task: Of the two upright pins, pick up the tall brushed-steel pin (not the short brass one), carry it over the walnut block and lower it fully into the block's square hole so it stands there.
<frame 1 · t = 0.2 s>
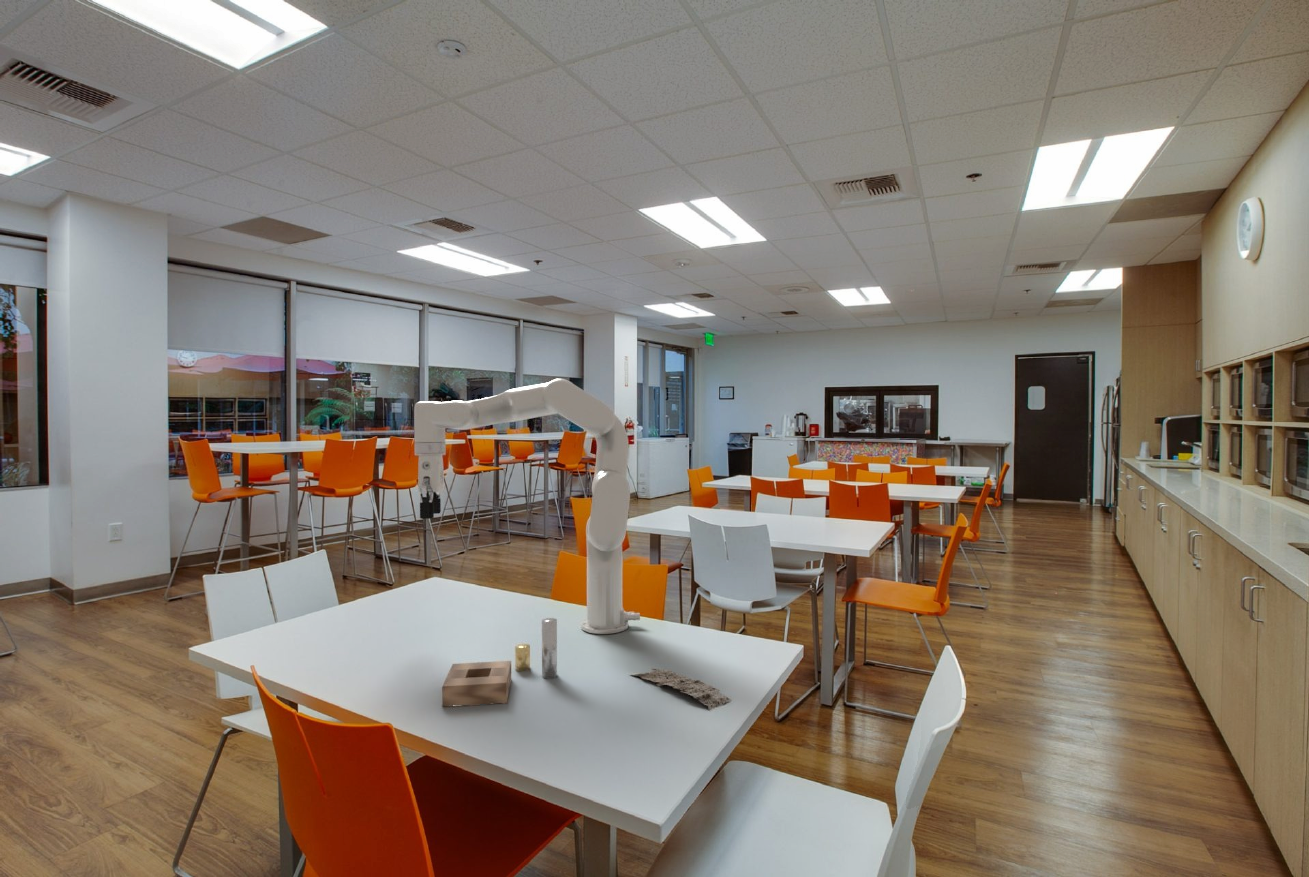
hand: (430, 515, 165), 31 cm above the table, tool pointing down, fingers open, 9 cm apart
short pin: (522, 668, 142), on the table
long pin: (549, 675, 138), on the table
stone fragment: (676, 690, 132), on the table
socket block: (478, 692, 129), on the table
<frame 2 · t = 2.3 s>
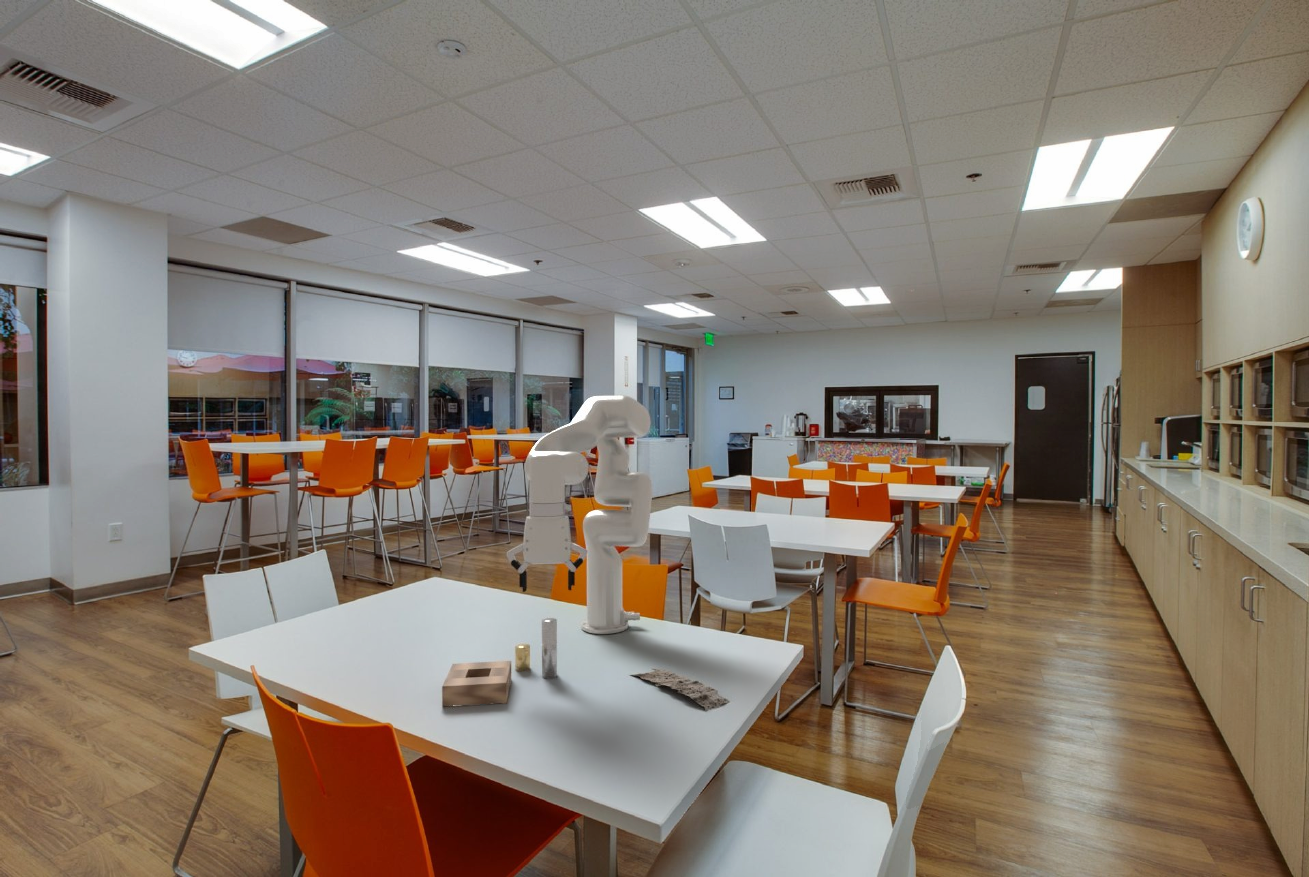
hand: (547, 589, 138), 19 cm above the table, tool pointing down, fingers open, 9 cm apart
nothing on the table moved.
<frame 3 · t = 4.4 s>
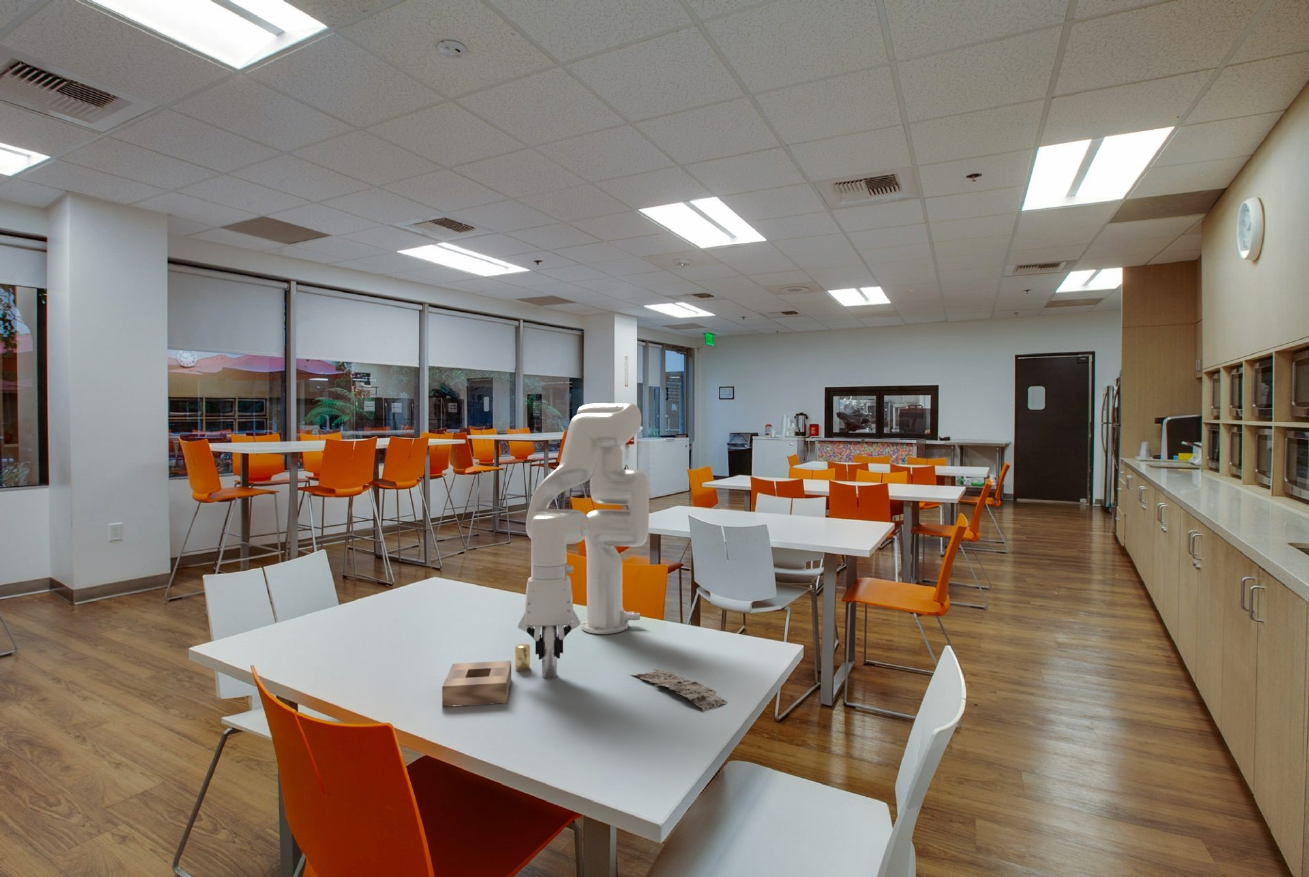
hand: (549, 655, 138), 4 cm above the table, tool pointing down, fingers closed on long pin, 3 cm apart
long pin: (549, 675, 138), on the table, touching gripper
everything else where it was.
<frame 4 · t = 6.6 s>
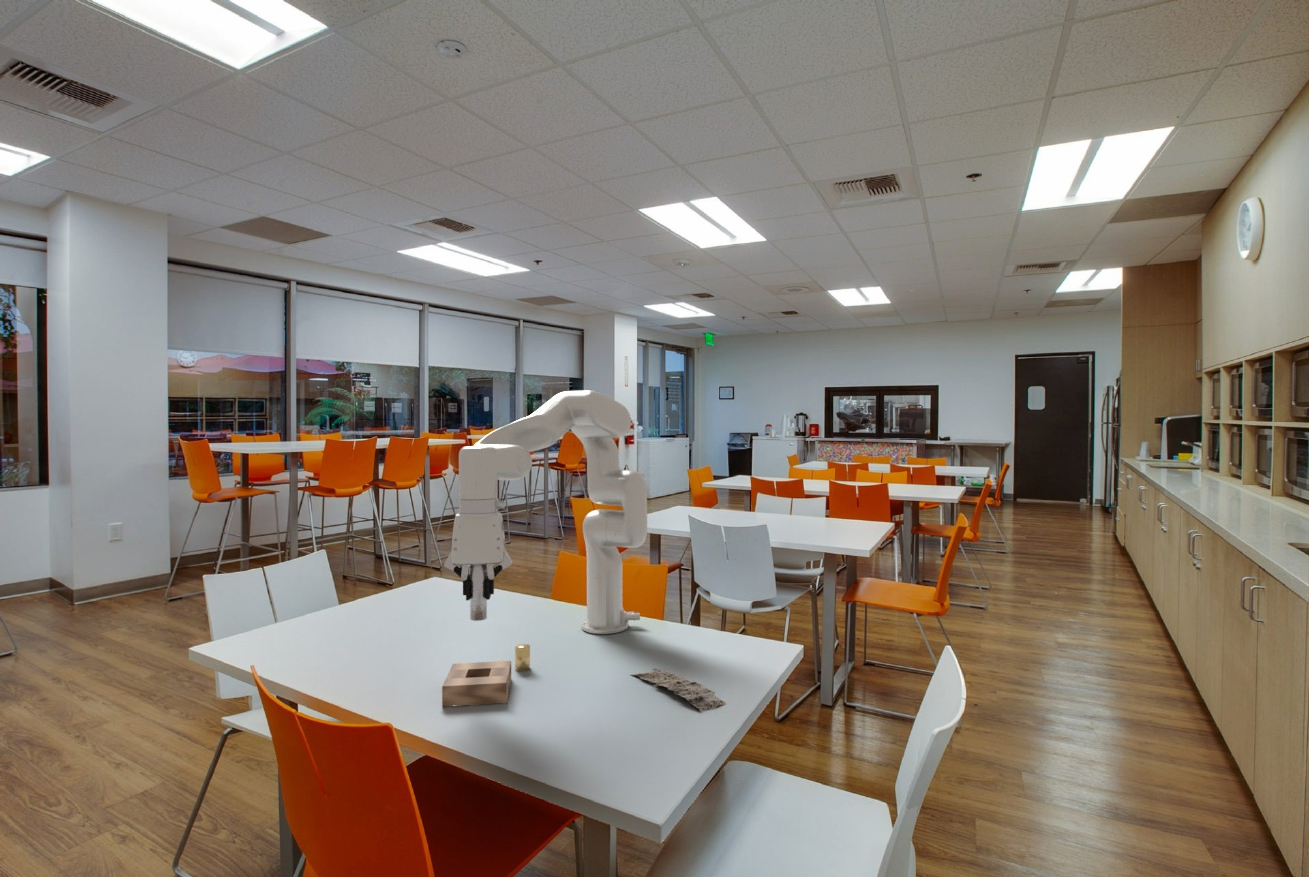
hand: (478, 597, 129), 19 cm above the table, tool pointing down, fingers closed on long pin, 3 cm apart
long pin: (478, 618, 129), point 15 cm above the table, touching gripper
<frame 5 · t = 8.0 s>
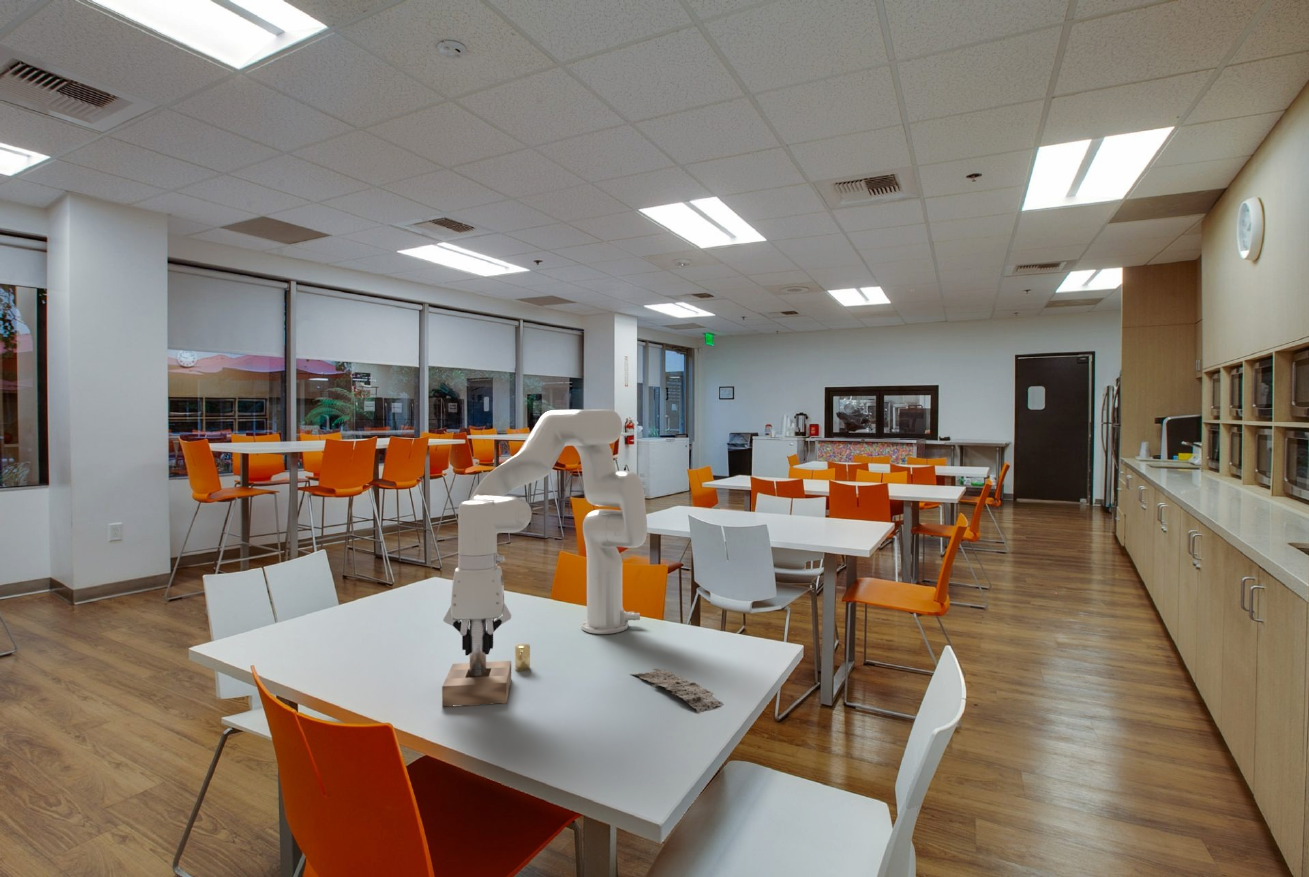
hand: (477, 651, 129), 8 cm above the table, tool pointing down, fingers closed on long pin, 3 cm apart
long pin: (477, 672, 129), point 4 cm above the table, touching gripper
when the fingers open (5 cm above the table, at t = 8.9 s): long pin stays where it is, resting in socket block.
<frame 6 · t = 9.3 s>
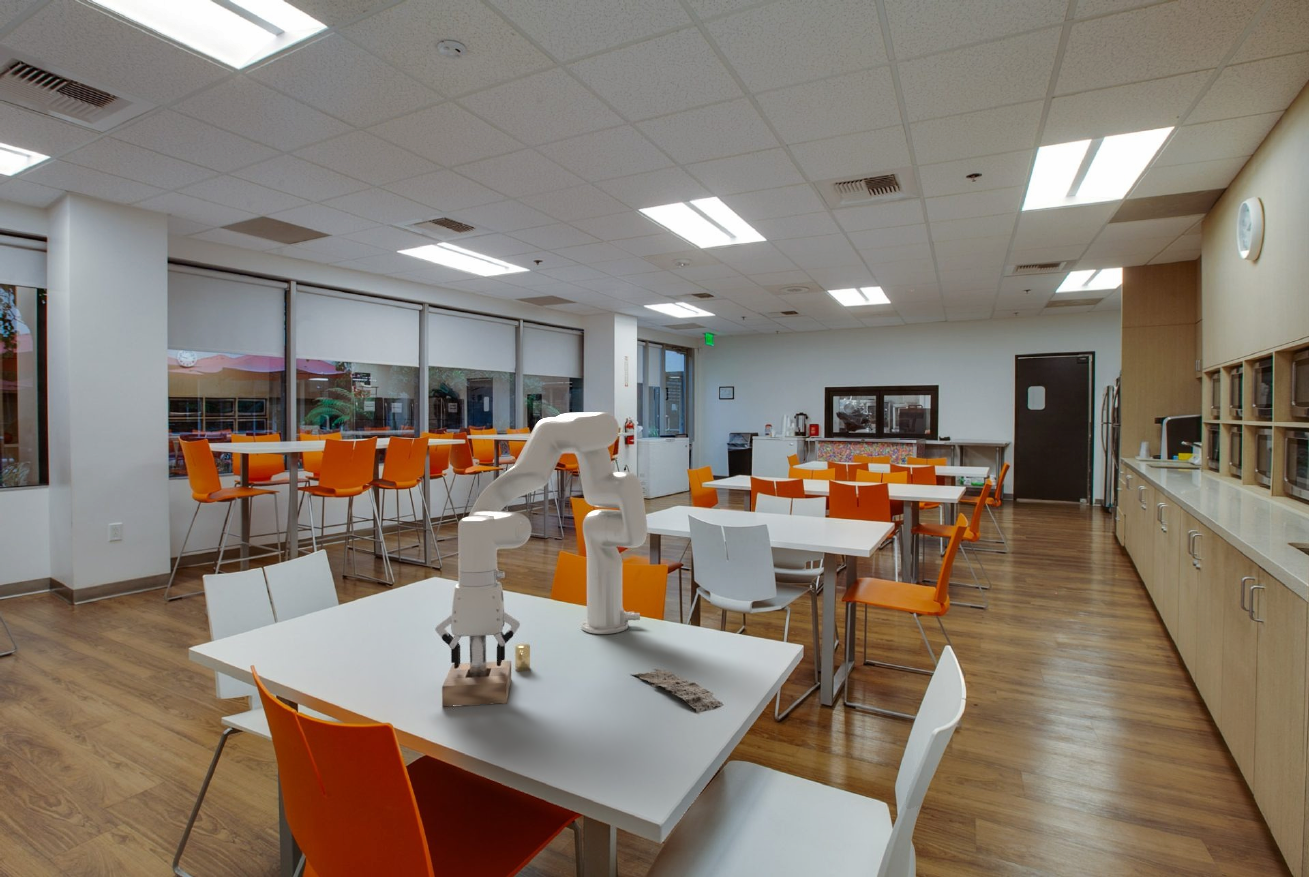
hand: (478, 664, 129), 6 cm above the table, tool pointing down, fingers open, 7 cm apart
long pin: (478, 692, 129), resting in socket block
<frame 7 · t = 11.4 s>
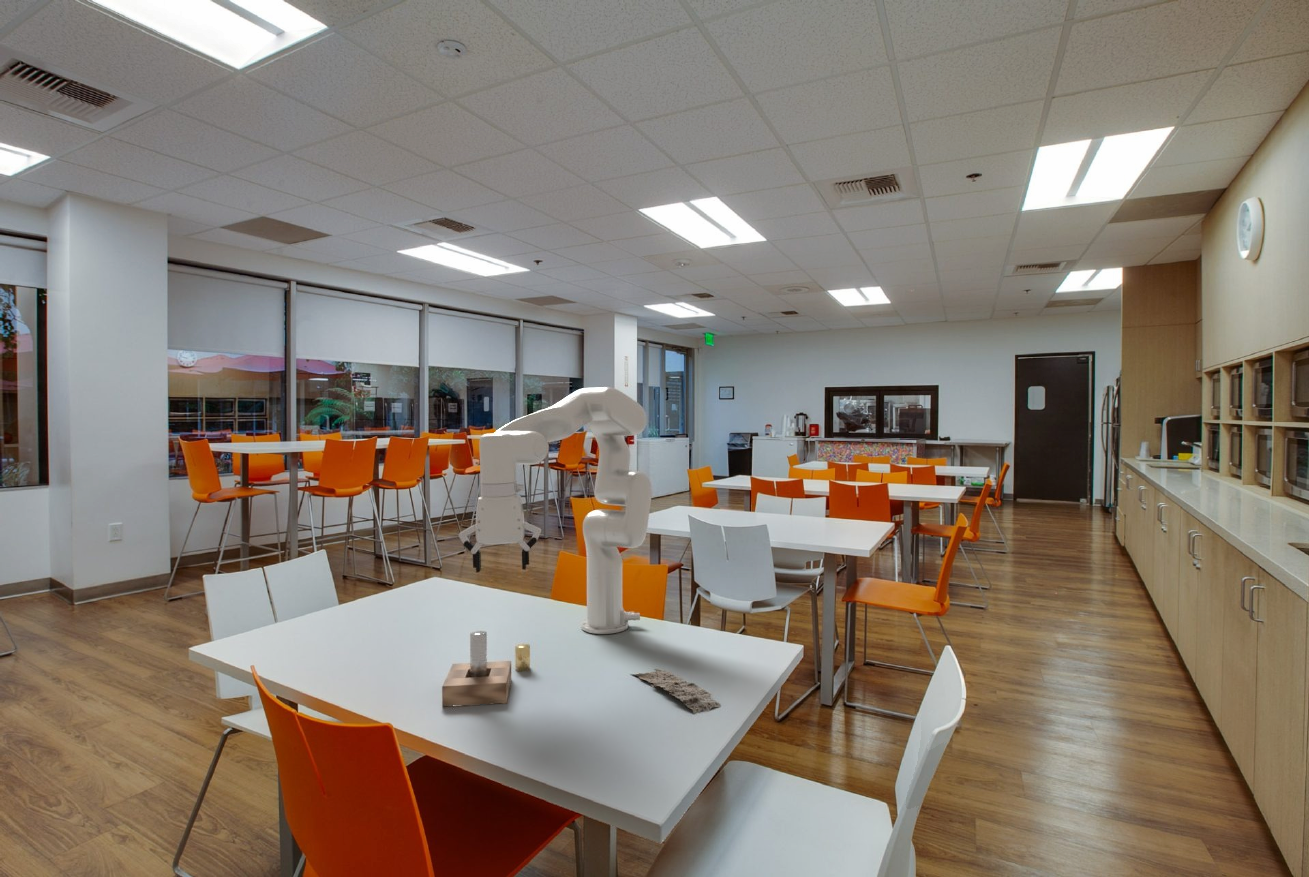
hand: (501, 569, 138), 23 cm above the table, tool pointing down, fingers open, 9 cm apart
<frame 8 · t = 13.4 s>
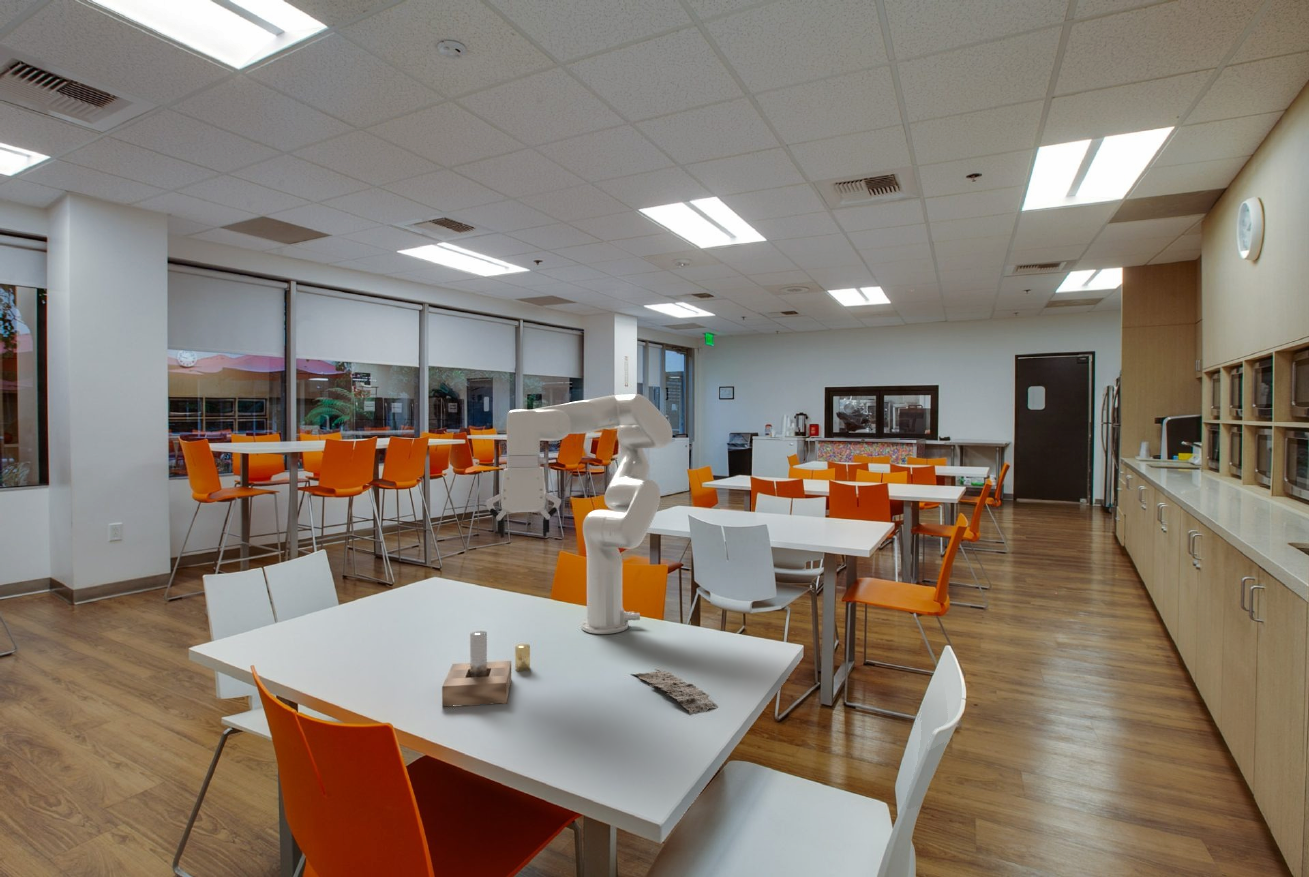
hand: (523, 536, 149), 28 cm above the table, tool pointing down, fingers open, 9 cm apart
at the end: long pin 0.0 cm off-centre on the socket block, point 0.0 cm above the socket block's base; long pin tilted 0°; short pin moved 0.0 cm from its start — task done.
